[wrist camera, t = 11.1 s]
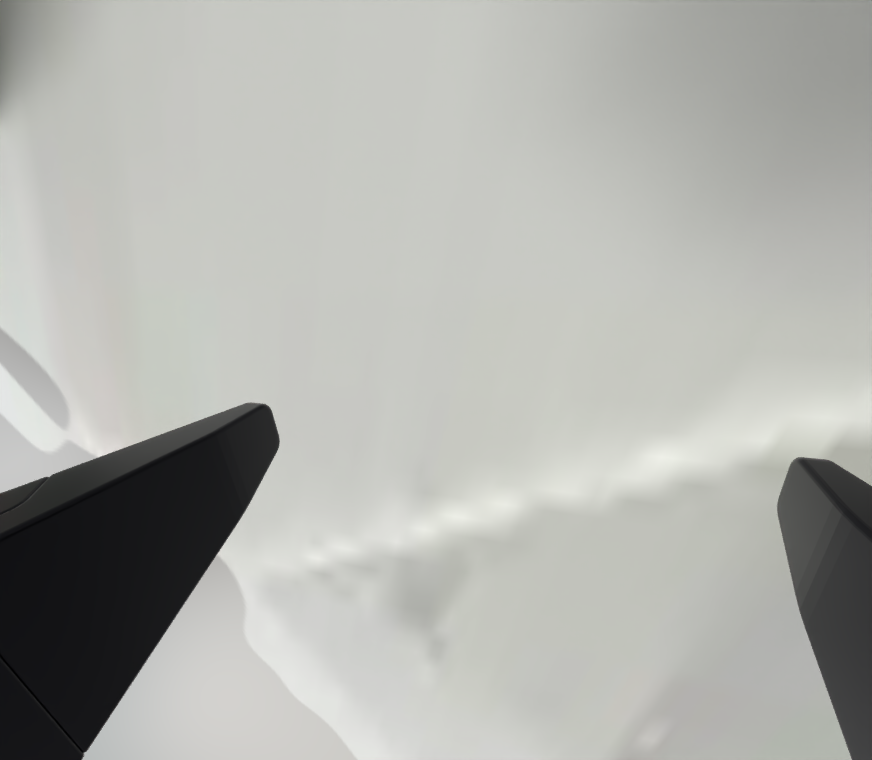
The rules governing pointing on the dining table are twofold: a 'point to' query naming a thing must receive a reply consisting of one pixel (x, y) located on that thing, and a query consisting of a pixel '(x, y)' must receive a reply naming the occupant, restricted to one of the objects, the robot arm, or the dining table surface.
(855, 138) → the dining table surface
